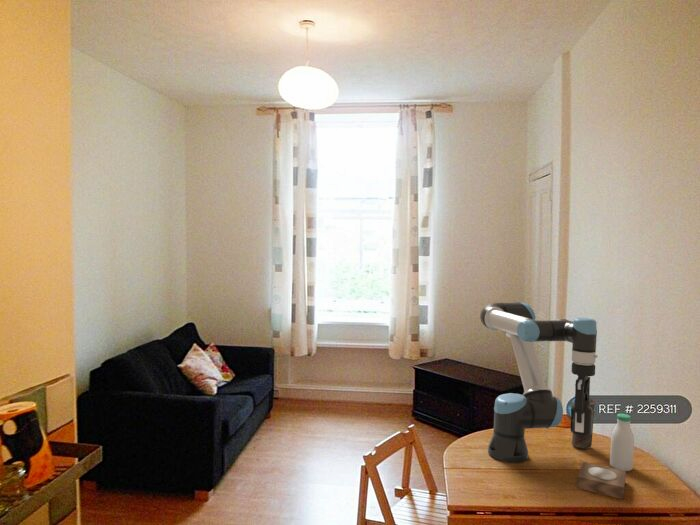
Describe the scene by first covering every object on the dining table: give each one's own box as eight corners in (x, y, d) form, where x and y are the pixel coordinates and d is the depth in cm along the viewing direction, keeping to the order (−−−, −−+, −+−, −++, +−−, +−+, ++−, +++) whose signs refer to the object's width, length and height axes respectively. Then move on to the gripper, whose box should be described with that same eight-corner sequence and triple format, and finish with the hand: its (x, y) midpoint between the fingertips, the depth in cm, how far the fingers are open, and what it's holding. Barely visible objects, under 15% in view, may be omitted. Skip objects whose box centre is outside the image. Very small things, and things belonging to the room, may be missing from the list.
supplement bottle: (570, 434, 181) (571, 399, 180) (570, 428, 187) (571, 394, 187) (592, 437, 178) (593, 402, 178) (591, 431, 184) (592, 397, 184)
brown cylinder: (593, 446, 217) (596, 399, 215) (590, 452, 210) (593, 403, 209) (573, 442, 221) (576, 395, 219) (570, 447, 214) (572, 399, 213)
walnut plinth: (577, 487, 180) (578, 475, 180) (582, 472, 192) (582, 460, 192) (623, 499, 173) (623, 486, 173) (625, 482, 185) (625, 470, 185)
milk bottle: (635, 472, 193) (638, 419, 192) (612, 470, 195) (616, 417, 193) (628, 464, 201) (631, 412, 199) (607, 461, 202) (610, 410, 201)
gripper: (590, 369, 171) (587, 439, 172) (600, 359, 188) (597, 423, 188) (565, 366, 176) (563, 434, 176) (577, 357, 192) (575, 419, 193)
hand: (581, 428), depth 182 cm, fingers closed on supplement bottle, 7 cm apart
